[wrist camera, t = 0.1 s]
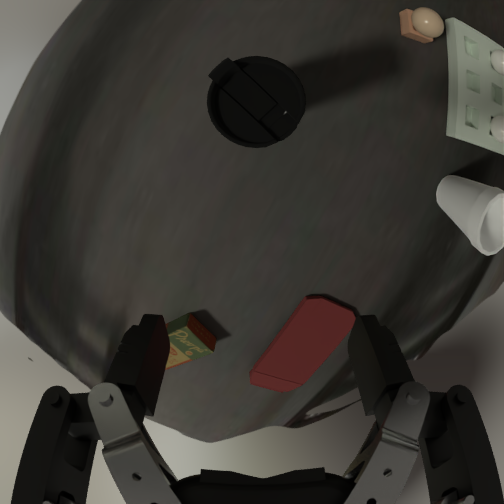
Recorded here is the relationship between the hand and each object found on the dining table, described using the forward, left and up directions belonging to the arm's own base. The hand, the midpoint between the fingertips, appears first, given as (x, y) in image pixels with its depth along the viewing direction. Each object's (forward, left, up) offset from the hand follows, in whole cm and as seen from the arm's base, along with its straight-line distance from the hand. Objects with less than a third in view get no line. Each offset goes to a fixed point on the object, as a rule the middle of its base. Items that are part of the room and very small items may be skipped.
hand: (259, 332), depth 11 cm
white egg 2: (-13, +40, -27) cm, 50 cm away
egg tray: (-19, +37, -29) cm, 51 cm away
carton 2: (+34, +9, -30) cm, 46 cm away
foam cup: (+1, +33, -29) cm, 44 cm away
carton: (+33, -16, -30) cm, 47 cm away
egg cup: (-25, +23, -29) cm, 45 cm away
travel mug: (-9, 0, -29) cm, 31 cm away
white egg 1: (-25, +40, -27) cm, 55 cm away
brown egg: (-25, +23, -27) cm, 43 cm away
